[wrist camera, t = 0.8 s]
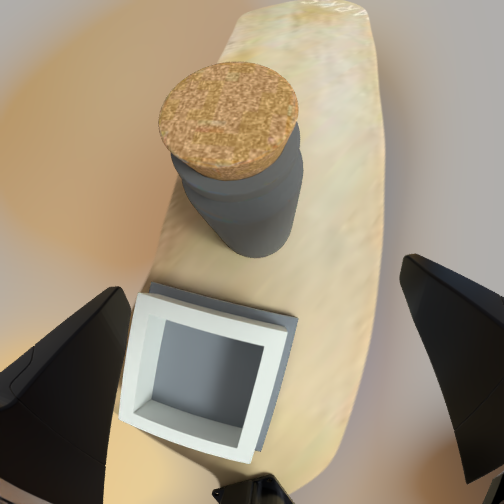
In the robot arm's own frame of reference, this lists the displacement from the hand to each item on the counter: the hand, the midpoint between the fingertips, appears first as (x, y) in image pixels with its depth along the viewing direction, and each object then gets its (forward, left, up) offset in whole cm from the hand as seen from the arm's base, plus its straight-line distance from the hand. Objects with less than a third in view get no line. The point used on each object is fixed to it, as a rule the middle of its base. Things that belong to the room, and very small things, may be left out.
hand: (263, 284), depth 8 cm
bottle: (+6, -2, -14) cm, 15 cm away
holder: (-3, +7, -14) cm, 16 cm away
